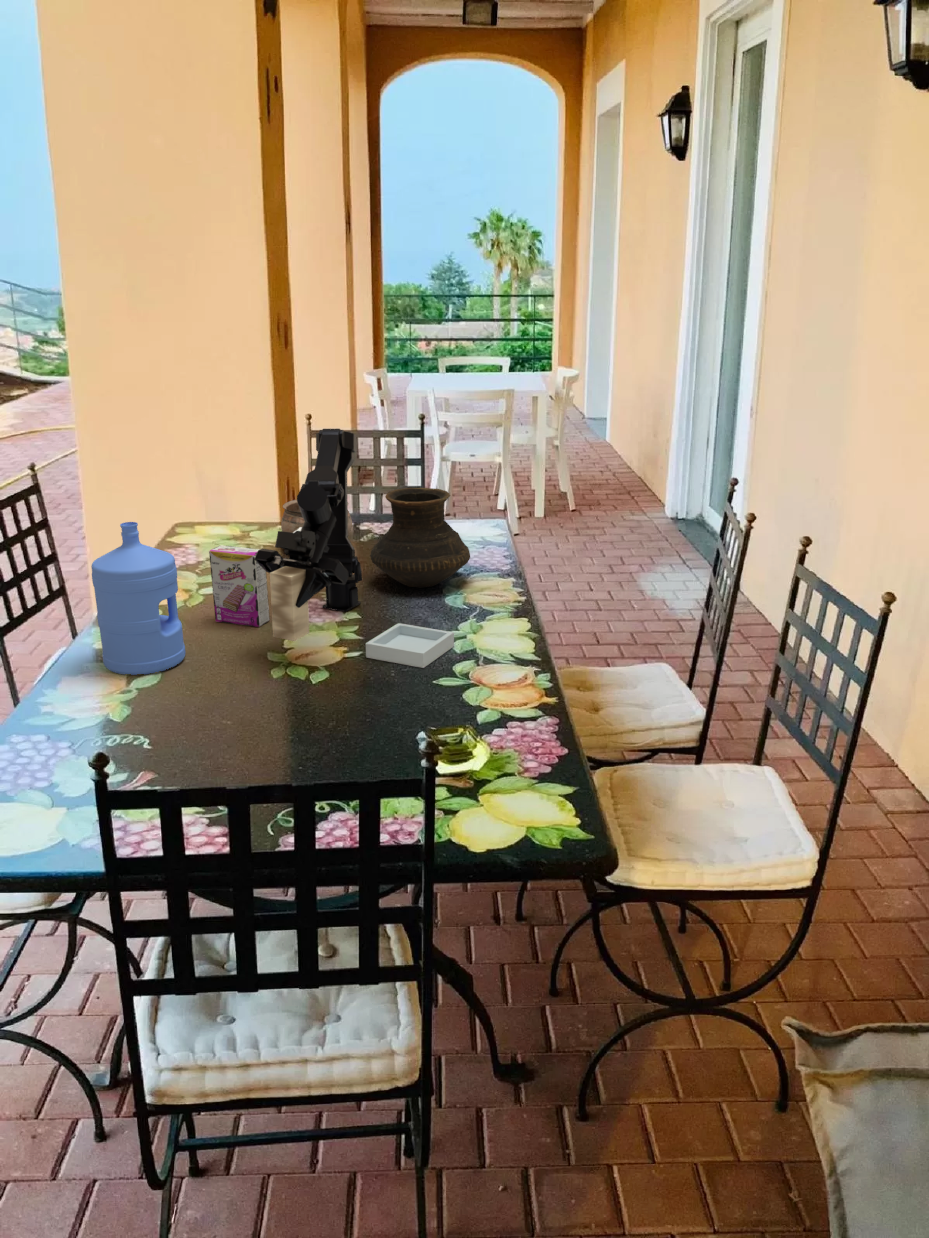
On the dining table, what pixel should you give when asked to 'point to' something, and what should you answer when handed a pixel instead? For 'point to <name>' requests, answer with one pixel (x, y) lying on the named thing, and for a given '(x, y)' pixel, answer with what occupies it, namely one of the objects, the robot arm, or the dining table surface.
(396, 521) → the ceramic pot
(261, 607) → the candy bar box
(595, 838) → the dining table surface
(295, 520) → the cooking pot
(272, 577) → the birch block
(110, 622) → the water jug
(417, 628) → the tray
